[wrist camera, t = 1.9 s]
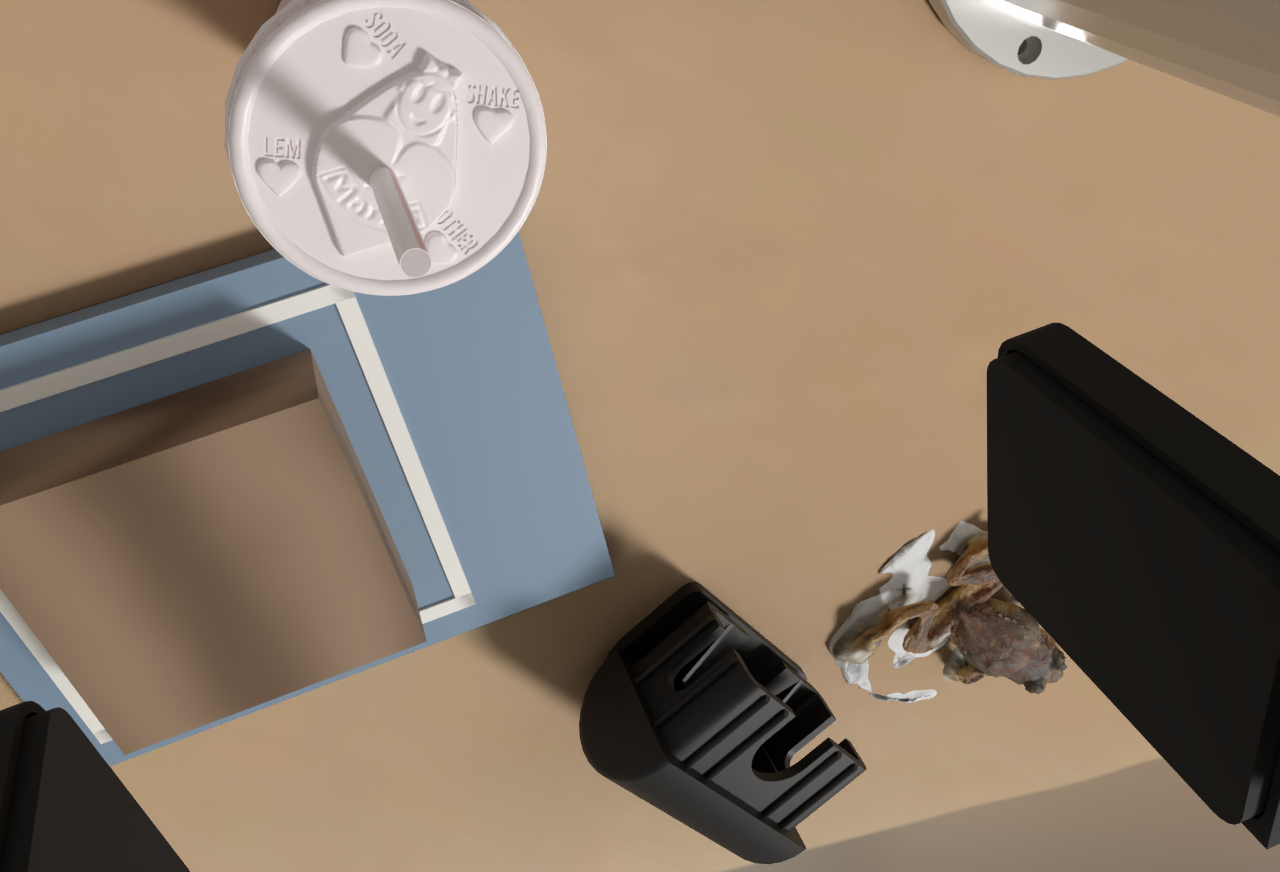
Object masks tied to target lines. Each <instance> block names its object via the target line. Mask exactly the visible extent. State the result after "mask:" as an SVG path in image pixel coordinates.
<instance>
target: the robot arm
mask: <svg viewBox="0 0 1280 872" xmlns="http://www.w3.org/2000/svg"><path fill="white" fill-rule="evenodd" d="M929 2H930V4H931V5H932V7H933V8H934V10H935V11H936V13H937V15H938V16H939V18H940V19H941V21H942V22H943V24H944V26H945V27H946V29H947V30H948V31H949V32H950V33H951V34H952V35H953V36H954V37H955V38H956V39H957V40H958V41H959V42H960V43H962V44H963V45H964V46H965V47H966V48H967V49H968V50H969V51H970V52H972V53H974V54H975V55H977V56H979V57H981V58H983V59H984V60H986V61H988V62H990V63H992V64H994V65H995V66H998V67H1000V68H1002V69H1005V70H1007V71H1010V72H1012V73H1014V74H1017V75H1020V76H1024V77H1032V78H1040V79H1049V80H1059V79H1068V78H1077V77H1085V76H1088V75H1091V74H1094V73H1097V72H1100V71H1103V70H1106V69H1109V68H1112V67H1115V66H1117V65H1119V64H1121V63H1123V62H1125V61H1127V60H1132V61H1135V62H1137V63H1140V64H1142V65H1145V66H1148V67H1150V68H1153V69H1156V70H1158V71H1161V72H1163V73H1166V74H1169V75H1171V76H1174V77H1177V78H1179V79H1182V80H1185V81H1187V82H1190V83H1192V84H1195V85H1198V86H1200V87H1203V88H1206V89H1208V90H1211V91H1213V92H1216V93H1219V94H1221V95H1224V96H1227V97H1229V98H1232V99H1235V100H1237V101H1240V102H1242V103H1245V104H1248V105H1250V106H1253V107H1256V108H1258V109H1261V110H1263V111H1266V112H1269V113H1271V114H1274V115H1277V116H1279V117H1280V0H929ZM987 495H988V555H989V559H990V562H991V565H992V567H993V570H994V572H995V574H996V575H997V577H998V579H999V580H1000V581H1001V583H1002V584H1003V585H1004V586H1005V587H1006V588H1007V589H1008V591H1009V592H1010V593H1011V594H1012V595H1013V596H1014V597H1015V598H1016V599H1017V600H1018V601H1019V602H1020V604H1021V605H1022V606H1023V607H1024V608H1025V609H1026V610H1027V611H1028V612H1029V613H1030V614H1031V615H1032V617H1033V618H1034V619H1035V620H1036V621H1037V622H1038V623H1039V624H1040V625H1041V626H1042V627H1043V628H1044V629H1045V631H1046V632H1047V633H1048V634H1049V635H1050V636H1051V637H1052V638H1053V639H1054V640H1055V641H1056V642H1057V644H1058V645H1059V646H1060V647H1061V648H1062V649H1063V650H1064V651H1065V652H1066V653H1067V654H1068V655H1069V657H1070V658H1071V659H1072V660H1073V661H1074V662H1075V663H1076V664H1077V665H1078V666H1079V667H1080V668H1081V669H1082V671H1083V672H1084V673H1085V674H1086V675H1087V676H1088V677H1089V678H1090V679H1091V680H1092V681H1093V682H1094V684H1095V685H1096V686H1097V687H1098V688H1099V689H1100V690H1101V691H1102V692H1103V693H1104V694H1105V695H1106V696H1107V698H1108V699H1109V700H1110V701H1111V702H1112V703H1113V704H1114V705H1115V706H1116V707H1117V708H1118V709H1119V711H1120V712H1121V713H1122V714H1123V715H1124V716H1125V717H1126V718H1127V719H1128V720H1129V721H1130V722H1131V724H1132V725H1133V726H1134V727H1135V728H1136V729H1137V730H1138V731H1139V732H1140V733H1141V734H1142V735H1143V736H1144V738H1145V739H1146V740H1147V741H1148V742H1149V743H1150V744H1151V745H1152V746H1153V747H1154V748H1155V749H1156V751H1157V752H1158V753H1159V754H1160V755H1161V756H1162V757H1163V758H1164V759H1165V760H1166V761H1167V762H1168V763H1169V765H1170V766H1171V767H1172V768H1173V769H1174V770H1175V771H1176V772H1177V773H1178V774H1179V775H1180V776H1181V778H1183V780H1184V781H1185V782H1186V783H1187V784H1188V785H1189V786H1190V787H1191V788H1192V789H1193V790H1194V791H1195V793H1196V794H1197V795H1198V796H1199V797H1200V798H1201V799H1202V800H1203V801H1204V802H1205V803H1206V805H1207V806H1208V807H1209V808H1210V809H1211V810H1212V811H1213V812H1214V813H1215V814H1216V815H1217V816H1218V817H1219V818H1221V819H1222V820H1224V821H1226V822H1227V823H1230V824H1234V825H1235V824H1238V823H1242V824H1243V825H1244V826H1245V827H1246V828H1247V829H1248V830H1249V831H1250V832H1251V833H1252V834H1253V835H1254V836H1255V837H1256V839H1257V840H1258V841H1259V842H1260V843H1261V844H1262V845H1263V846H1264V847H1265V848H1266V849H1269V848H1271V847H1273V846H1276V845H1278V844H1279V843H1280V476H1279V475H1278V474H1276V473H1275V472H1273V471H1272V470H1271V469H1269V468H1268V467H1266V466H1265V465H1263V464H1262V463H1261V462H1259V461H1258V460H1256V459H1255V458H1254V457H1252V456H1251V455H1249V454H1248V453H1246V452H1245V451H1244V450H1242V449H1241V448H1239V447H1238V446H1237V445H1235V444H1234V443H1232V442H1231V441H1229V440H1228V439H1227V438H1225V437H1224V436H1222V435H1221V434H1220V433H1218V432H1217V431H1215V430H1214V429H1212V428H1211V427H1210V426H1208V425H1207V424H1205V423H1204V422H1202V421H1201V420H1200V419H1198V418H1197V417H1195V416H1194V415H1193V414H1191V413H1190V412H1188V411H1187V410H1185V409H1184V408H1183V407H1181V406H1180V405H1178V404H1177V403H1176V402H1174V401H1173V400H1171V399H1170V398H1168V397H1167V396H1166V395H1164V394H1163V393H1161V392H1160V391H1159V390H1157V389H1156V388H1154V387H1153V386H1151V385H1150V384H1149V383H1147V382H1146V381H1144V380H1143V379H1142V378H1140V377H1139V376H1137V375H1136V374H1134V373H1133V372H1132V371H1130V370H1129V369H1127V368H1126V367H1125V366H1123V365H1122V364H1120V363H1119V362H1117V361H1116V360H1115V359H1113V358H1112V357H1110V356H1109V355H1108V354H1106V353H1105V352H1103V351H1102V350H1100V349H1099V348H1098V347H1096V346H1095V345H1093V344H1092V343H1091V342H1089V341H1088V340H1086V339H1085V338H1083V337H1082V336H1081V335H1079V334H1078V333H1076V332H1075V331H1073V330H1072V329H1071V328H1069V327H1068V326H1066V325H1063V324H1061V323H1051V324H1048V325H1046V326H1043V327H1040V328H1038V329H1035V330H1032V331H1029V332H1027V333H1024V334H1021V335H1019V336H1016V337H1013V338H1010V339H1008V340H1006V341H1005V342H1003V343H1002V344H1001V346H1000V348H999V351H998V358H997V359H994V360H993V361H991V362H990V363H989V365H988V369H987ZM0 872H190V871H189V869H188V868H187V867H186V865H185V864H184V863H183V861H182V860H181V859H180V858H179V856H178V855H177V854H176V852H175V851H174V850H173V848H172V847H171V846H170V845H169V843H168V842H167V841H166V839H165V838H164V837H163V835H162V834H161V833H160V831H159V830H158V829H157V828H156V826H155V825H154V824H153V822H152V821H151V820H150V818H149V817H148V816H147V815H146V813H145V812H144V811H143V809H142V808H141V807H140V805H139V804H138V803H137V802H136V800H135V799H134V798H133V796H132V795H131V794H130V792H129V791H128V790H127V789H126V787H125V786H124V785H123V783H122V782H121V781H120V779H119V778H118V777H117V775H116V774H115V773H114V772H113V770H112V769H111V768H110V766H109V765H108V764H107V762H106V761H105V760H104V759H103V757H102V756H101V755H100V753H99V752H98V751H97V749H96V748H95V747H94V746H93V744H92V743H91V742H90V740H89V739H88V738H87V736H86V735H85V734H84V732H83V731H82V730H81V729H80V727H79V726H78V725H77V723H76V722H75V721H74V719H73V718H72V717H71V716H70V715H69V714H68V712H67V711H66V710H64V709H62V708H60V707H57V708H53V709H50V710H48V711H45V710H44V709H43V708H42V707H41V706H40V705H39V704H38V703H36V702H34V701H25V702H23V703H20V704H17V705H14V706H12V707H9V708H6V709H4V710H1V711H0Z"/></svg>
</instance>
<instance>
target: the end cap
mask: <svg viewBox="0 0 1280 872" xmlns="http://www.w3.org/2000/svg"><path fill="white" fill-rule="evenodd" d="M835 720H836V718H835V717H834V715H833V714H832V712H831V710H830V709H829V707H828V706H827V704H826V702H825V701H824V699H823V698H822V697H821V695H820V694H819V693H818V692H817V690H816V689H815V688H814V687H813V686H812V685H811V684H809V683H808V682H807V678H806V676H805V674H804V672H803V671H802V669H801V668H800V667H799V666H798V665H797V664H796V663H795V662H793V661H792V660H791V659H790V658H789V657H787V656H786V655H785V654H784V653H783V652H781V651H780V650H779V649H778V648H776V647H775V646H774V645H773V644H772V643H770V642H769V641H768V640H767V639H766V638H764V637H763V636H762V635H761V634H760V633H758V632H757V631H756V630H755V629H754V628H752V627H751V626H750V625H749V624H748V623H746V622H745V621H744V620H743V619H742V618H740V617H739V616H738V615H737V614H735V613H734V612H733V611H732V610H731V609H729V608H728V607H727V606H726V605H725V604H723V603H722V602H721V601H720V600H719V599H717V598H716V597H715V596H714V595H713V594H711V593H710V592H709V591H708V590H707V589H705V588H704V587H703V586H702V585H700V584H698V583H695V582H694V583H687V584H686V585H684V586H682V587H681V588H680V589H678V590H677V591H676V592H675V593H674V594H673V595H671V596H670V597H669V598H668V599H667V600H666V601H664V602H663V603H662V604H661V605H660V606H659V607H657V608H656V609H655V610H654V611H653V612H652V613H650V614H649V615H648V616H647V617H646V618H645V619H643V620H642V621H641V622H640V623H639V624H638V625H636V626H635V627H634V628H633V629H632V630H631V631H629V632H628V633H627V634H626V635H625V636H624V637H622V638H621V639H620V640H619V642H618V643H617V644H616V645H615V646H614V648H613V649H612V650H611V651H610V652H609V654H608V656H607V658H606V660H605V661H604V662H603V663H602V665H601V666H600V667H599V669H598V670H597V672H596V673H595V675H594V677H593V679H592V680H591V682H590V684H589V687H588V689H587V691H586V694H585V696H584V700H583V704H582V708H581V712H580V721H579V731H580V740H581V744H582V748H583V752H584V754H585V756H586V758H587V760H588V762H589V763H590V764H591V765H592V766H593V768H594V769H595V770H596V771H597V772H598V773H600V774H601V775H603V776H604V777H606V778H608V779H609V780H611V781H613V782H614V783H616V784H618V785H619V786H621V787H623V788H624V789H626V790H628V791H630V792H631V793H633V794H635V795H636V796H638V797H640V798H641V799H643V800H645V801H646V802H648V803H650V804H651V805H653V806H655V807H657V808H658V809H660V810H662V811H663V812H665V813H667V814H668V815H670V816H672V817H673V818H675V819H677V820H678V821H680V822H682V823H684V824H685V825H687V826H689V827H690V828H692V829H694V830H695V831H697V832H699V833H700V834H702V835H704V836H705V837H707V838H709V839H711V840H712V841H714V842H716V843H717V844H719V845H721V846H722V847H724V848H726V849H727V850H729V851H731V852H732V853H734V854H736V855H738V856H739V857H741V858H743V859H744V860H748V861H751V862H754V863H759V864H772V863H778V862H782V861H785V860H787V859H790V858H792V857H795V856H796V855H798V854H799V853H801V852H802V851H804V850H805V849H806V847H805V845H804V843H803V841H802V839H801V837H800V835H799V833H798V832H797V830H796V828H795V826H797V825H798V824H799V823H800V822H802V821H803V820H804V819H805V818H807V817H808V816H809V815H810V814H812V813H813V812H814V811H815V810H817V809H818V808H819V807H820V806H822V805H823V804H824V803H825V802H827V801H828V800H829V799H830V798H831V797H833V796H834V795H835V794H836V793H838V792H839V791H840V790H841V789H843V788H844V787H845V786H846V785H848V784H849V783H850V782H851V781H853V780H854V779H855V778H856V777H858V776H859V775H860V774H861V773H863V772H864V771H865V770H866V766H865V765H864V763H863V761H862V760H861V758H860V756H859V755H858V753H857V752H856V750H855V748H854V747H853V745H852V744H851V742H850V741H849V740H847V739H844V740H843V741H842V742H841V743H839V744H837V743H835V742H834V741H833V740H832V739H830V738H829V737H828V738H827V739H826V740H825V741H823V742H822V743H821V744H820V745H819V746H817V747H816V748H815V749H814V750H812V751H811V752H810V753H809V754H807V755H806V756H805V757H804V758H803V759H801V760H800V761H799V762H797V763H796V764H794V765H793V766H791V767H790V761H791V758H792V757H793V755H794V754H795V753H796V752H797V751H799V750H800V749H801V748H802V747H804V746H805V745H806V744H807V743H808V742H810V741H811V740H812V739H813V738H815V737H816V736H817V735H818V734H819V733H821V732H822V731H823V730H824V729H826V728H827V727H828V726H829V725H831V724H832V723H833V722H834V721H835Z"/></svg>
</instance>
